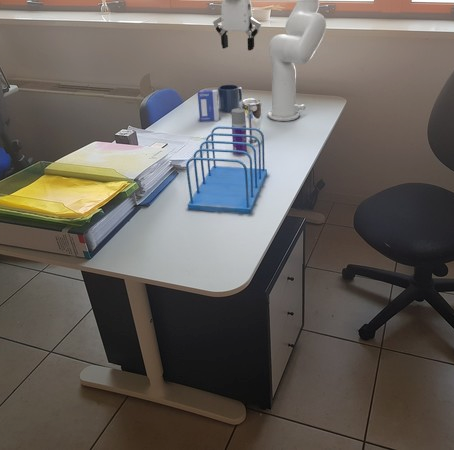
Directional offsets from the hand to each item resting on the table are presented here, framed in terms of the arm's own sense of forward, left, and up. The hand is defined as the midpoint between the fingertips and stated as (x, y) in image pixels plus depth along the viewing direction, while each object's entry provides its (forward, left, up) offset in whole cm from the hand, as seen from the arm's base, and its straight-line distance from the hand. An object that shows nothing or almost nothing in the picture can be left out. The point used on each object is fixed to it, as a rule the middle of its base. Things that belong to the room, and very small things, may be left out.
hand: (237, 48), depth 160 cm
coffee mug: (-11, -29, -30) cm, 43 cm away
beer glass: (+1, +11, -31) cm, 32 cm away
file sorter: (+25, +41, -31) cm, 57 cm away
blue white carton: (+4, -20, -31) cm, 37 cm away
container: (+10, +17, -31) cm, 36 cm away
